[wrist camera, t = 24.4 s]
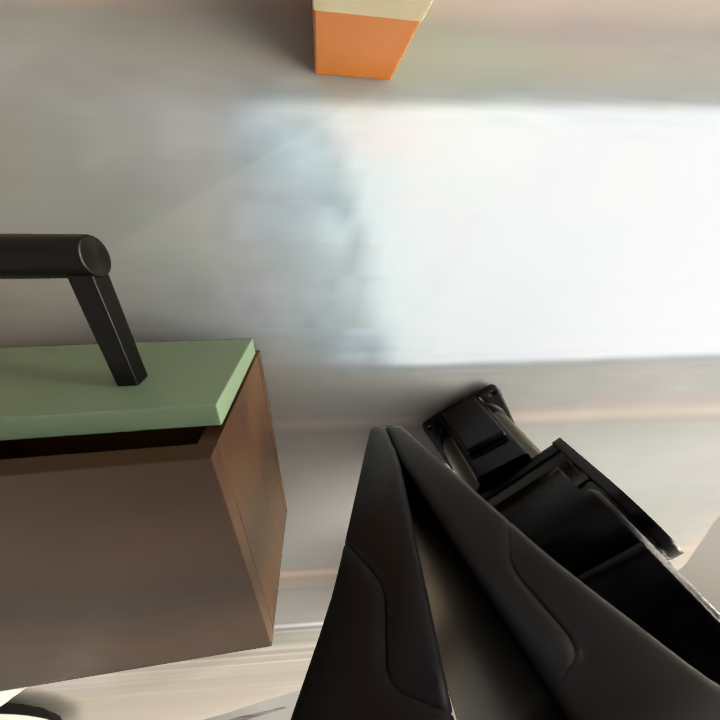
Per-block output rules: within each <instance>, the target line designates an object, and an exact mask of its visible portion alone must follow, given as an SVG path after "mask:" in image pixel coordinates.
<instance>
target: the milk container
mask: <svg viewBox="0 0 720 720" xmlns="http://www.w3.org/2000/svg"><path fill="white" fill-rule="evenodd" d="M0 720H62V719H61V718H60V716H59V715H57V714H55V713H53V712H50V711H48V710H46V709H44V708H40V707H33V706H29V705H22V704H8V703H5V704H4V705H2V706H1V707H0Z"/></svg>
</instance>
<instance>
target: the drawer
mask: <svg viewBox="0 0 720 720" xmlns="http://www.w3.org/2000/svg"><path fill="white" fill-rule="evenodd" d="M110 269H111V260H110V256H109V253H108V251H107V249H106V248H105V246H104V245H103V243H102V242H101V241H100V240H98V239H97V238H95V237H94V236H91V235H87V234H0V279H36V278H68V280H69V282H70V284H71V286H72V288H73V291H74V293H75V295H76V297H77V299H78V301H79V304H80V306H81V308H82V310H83V312H84V315H85V317H86V319H87V321H88V323H89V325H90V328H91V330H92V332H93V334H94V336H95V339H96V341H97V343H98V344H86V345H58V346H31V347H3V348H0V460H1V459H14V458H27V457H39V456H52V455H64V454H77V453H90V452H102V451H115V450H128V449H140V448H153V447H165V446H178V445H191V444H197V443H198V441H199V439H200V437H201V435H202V434H203V432H204V430H205V428H206V426H211V425H221V424H222V423H223V421H224V419H225V417H226V415H227V412H228V410H229V408H230V406H231V404H232V402H233V400H234V398H235V395H236V393H237V391H238V389H239V387H240V385H241V383H242V381H243V378H244V376H245V374H246V372H247V370H248V368H249V366H250V364H251V361H252V359H253V357H254V355H255V348H254V342H253V339H252V338H250V339H223V340H195V341H168V342H140V343H135V341H134V339H133V336H132V334H131V331H130V328H129V326H128V323H127V321H126V318H125V316H124V313H123V311H122V308H121V305H120V303H119V300H118V298H117V295H116V293H115V290H114V288H113V285H112V282H111V280H110V277H109V275H108V273H109V272H110Z"/></svg>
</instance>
